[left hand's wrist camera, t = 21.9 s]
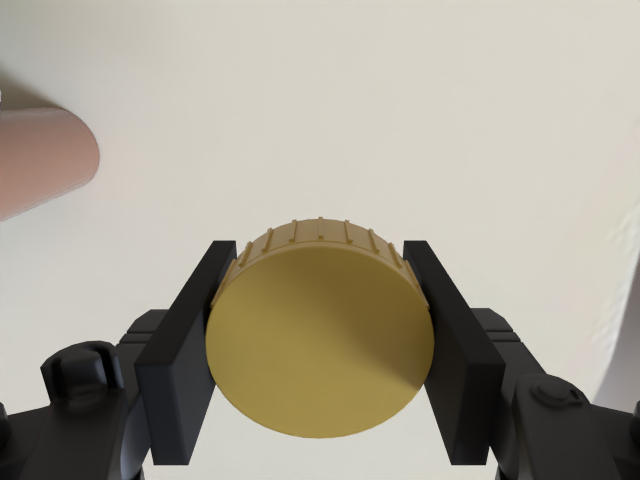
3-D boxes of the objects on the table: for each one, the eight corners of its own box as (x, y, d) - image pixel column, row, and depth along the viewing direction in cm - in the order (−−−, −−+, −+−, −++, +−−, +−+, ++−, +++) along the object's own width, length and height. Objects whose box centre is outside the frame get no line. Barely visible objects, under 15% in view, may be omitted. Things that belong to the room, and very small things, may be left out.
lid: (422, 380, 13) (439, 431, 11) (239, 397, 13) (226, 449, 12) (417, 204, 11) (437, 231, 9) (199, 228, 11) (175, 258, 9)
